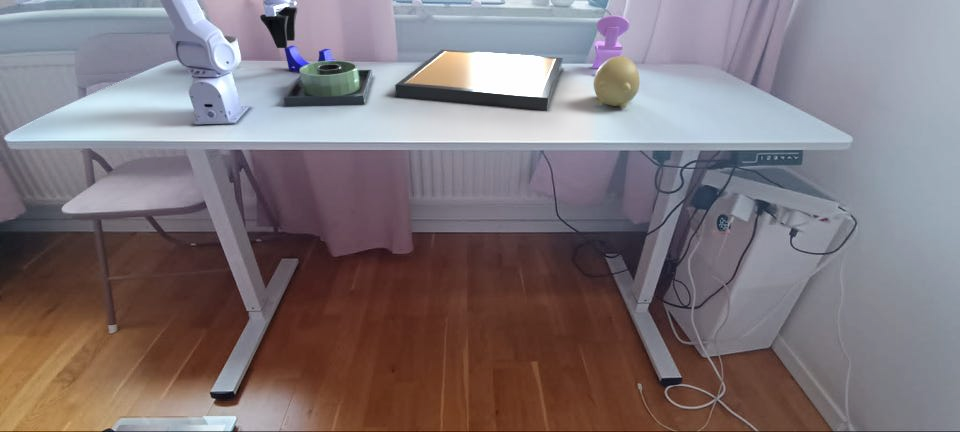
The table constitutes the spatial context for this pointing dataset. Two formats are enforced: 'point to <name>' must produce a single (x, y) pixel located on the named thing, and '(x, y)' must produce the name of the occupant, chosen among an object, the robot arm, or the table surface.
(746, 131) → the table surface
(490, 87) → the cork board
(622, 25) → the purple tall piece
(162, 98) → the table surface
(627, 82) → the toy pig
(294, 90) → the tray
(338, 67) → the black cup
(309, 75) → the sage bowl
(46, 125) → the table surface
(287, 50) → the blue curved stand
